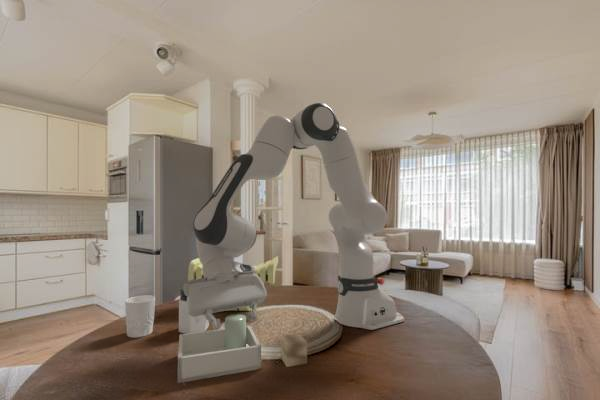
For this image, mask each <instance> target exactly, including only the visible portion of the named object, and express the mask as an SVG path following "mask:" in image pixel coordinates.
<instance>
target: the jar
mask: <svg viewBox="0 0 600 400" xmlns="http://www.w3.org/2000/svg"><path fill="white" fill-rule="evenodd" d="M179 291H180V294H179V295H180V297H179V299H178V333H180V334H187V333H195V332H203V331H207V330H208V328H209V326H210V322H209V321H208V320H207V319H206V318H205V315H200V316H195V317H192V316H191V315H189V314H188V309H187V296H186V295H185V294H184V290H183V288H182V289H180V290H179Z"/></svg>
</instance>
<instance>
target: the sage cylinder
mask: <svg viewBox="0 0 600 400" xmlns="http://www.w3.org/2000/svg"><path fill="white" fill-rule="evenodd" d="M246 326H247V316H246V315H244V314H239V313H238V314H237V313H236V314H235V313H233V314H230V315H227V316H226V317H225V318H224V329H225V350H229V349H235V348H242V347H246Z"/></svg>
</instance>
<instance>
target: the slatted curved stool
mask: <svg viewBox="0 0 600 400" xmlns="http://www.w3.org/2000/svg"><path fill="white" fill-rule="evenodd" d="M278 264H279V255H277V256H275V257H273V258H272V259H270V260H268V261H266V262H262V263H260V264H258V265H257V264H256V265H253V266H254V267H255V273H254V274H257V275H258V276H259V277H260V279H261V280H262V282H263V283H266V282H267V283H268V284H272V285H274V283H275V281H276V279H275V278H276V270H277V267H278ZM202 267H203V266H202V263H201V262H200V260H199V257H197V258H195V259H192V260H190V263H189V264H188V269H187V280H188V281H189V280H197V279H202V278H204V275H203V271H202ZM188 281H187V282H188ZM250 310H251V311H252V309H250V307H249V306H246V307H241V308H236V309H231V310H225V311H227V312H232V311H233V312H238V311H240V312H242V311H243V312H251V311H250Z"/></svg>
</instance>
